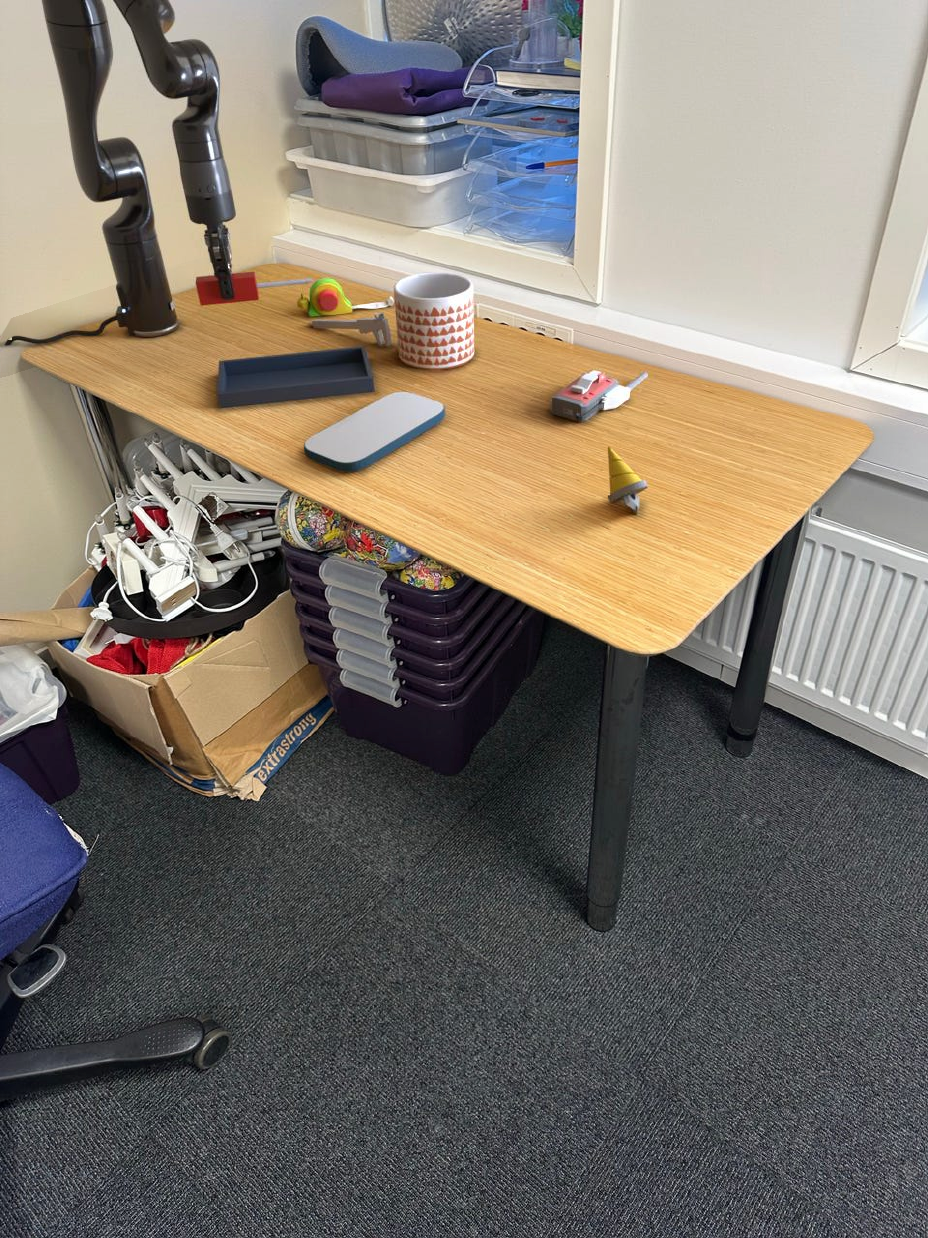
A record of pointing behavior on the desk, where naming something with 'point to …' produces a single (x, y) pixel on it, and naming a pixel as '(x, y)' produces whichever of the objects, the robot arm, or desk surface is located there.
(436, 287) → the planter
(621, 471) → the yellow cone
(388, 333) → the caliper
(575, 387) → the walkie-talkie
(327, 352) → the tray
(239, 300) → the screwdriver
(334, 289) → the toy measuring tape
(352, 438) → the external hard drive
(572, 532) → the desk surface
